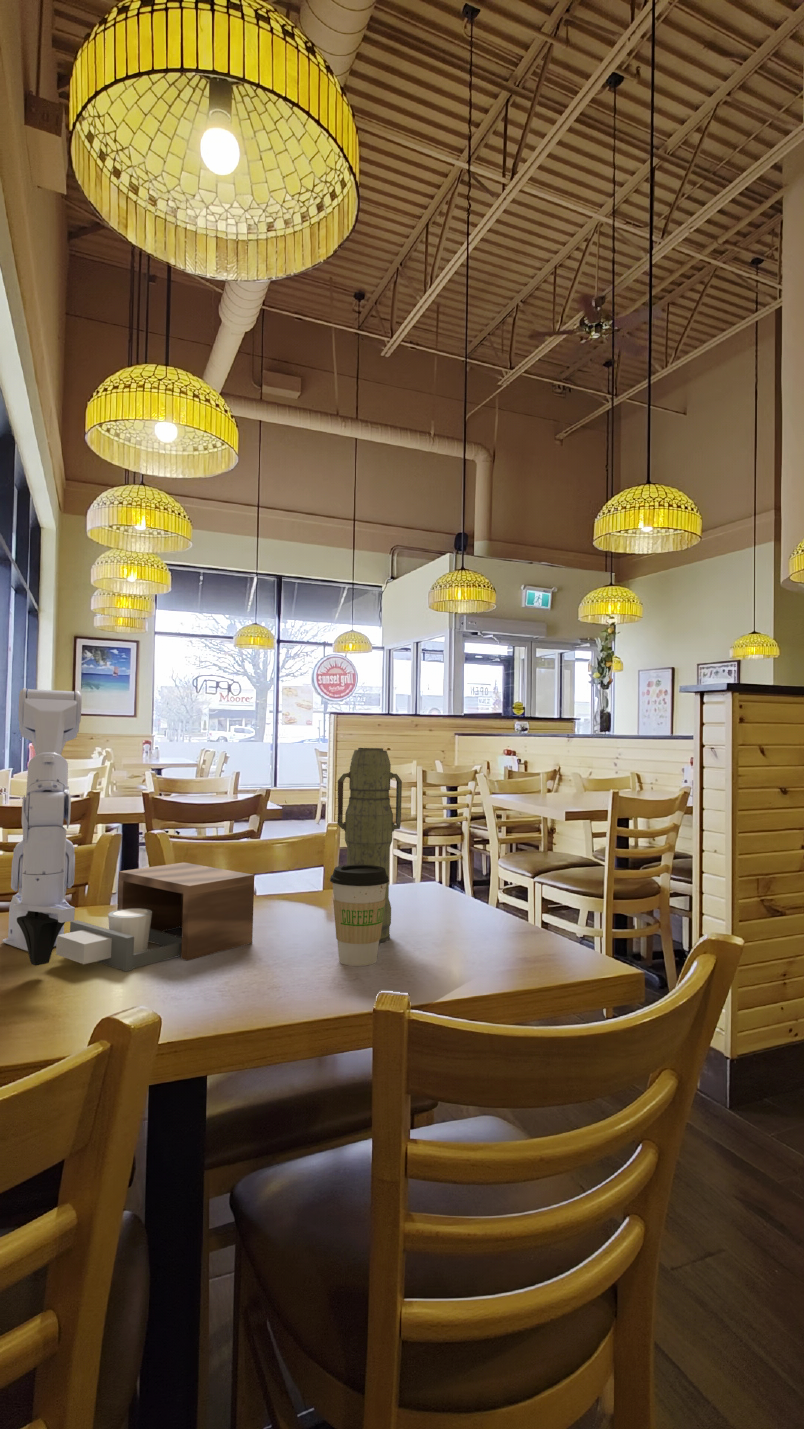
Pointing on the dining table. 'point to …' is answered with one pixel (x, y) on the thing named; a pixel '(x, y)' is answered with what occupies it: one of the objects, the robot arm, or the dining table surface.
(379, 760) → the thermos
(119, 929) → the white cup
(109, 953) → the shelf tray
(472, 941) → the dining table surface
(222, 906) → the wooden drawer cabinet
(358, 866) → the coffee cup
